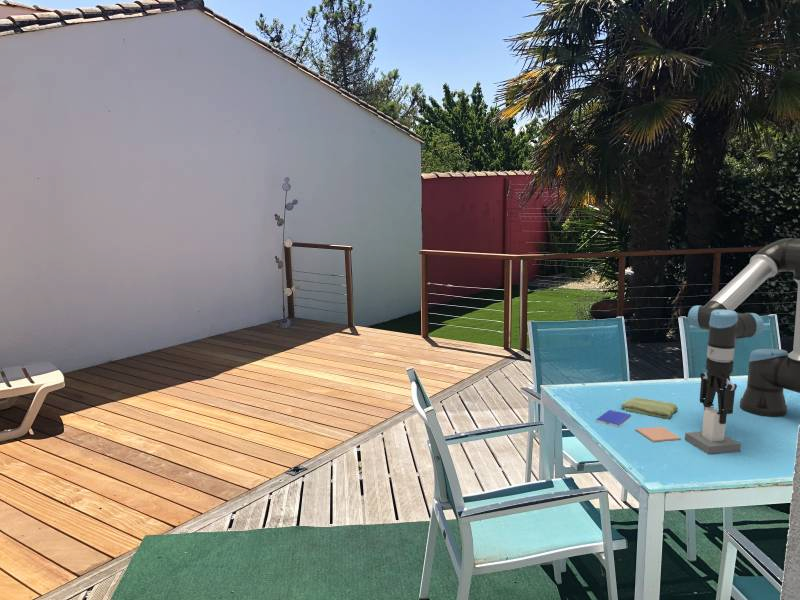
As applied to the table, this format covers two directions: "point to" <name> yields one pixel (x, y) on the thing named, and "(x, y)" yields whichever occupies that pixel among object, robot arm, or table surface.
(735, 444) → the gray square ring
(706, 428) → the plug
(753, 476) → the table surface
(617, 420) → the hard drive
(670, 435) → the pad
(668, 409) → the washcloth
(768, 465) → the table surface
